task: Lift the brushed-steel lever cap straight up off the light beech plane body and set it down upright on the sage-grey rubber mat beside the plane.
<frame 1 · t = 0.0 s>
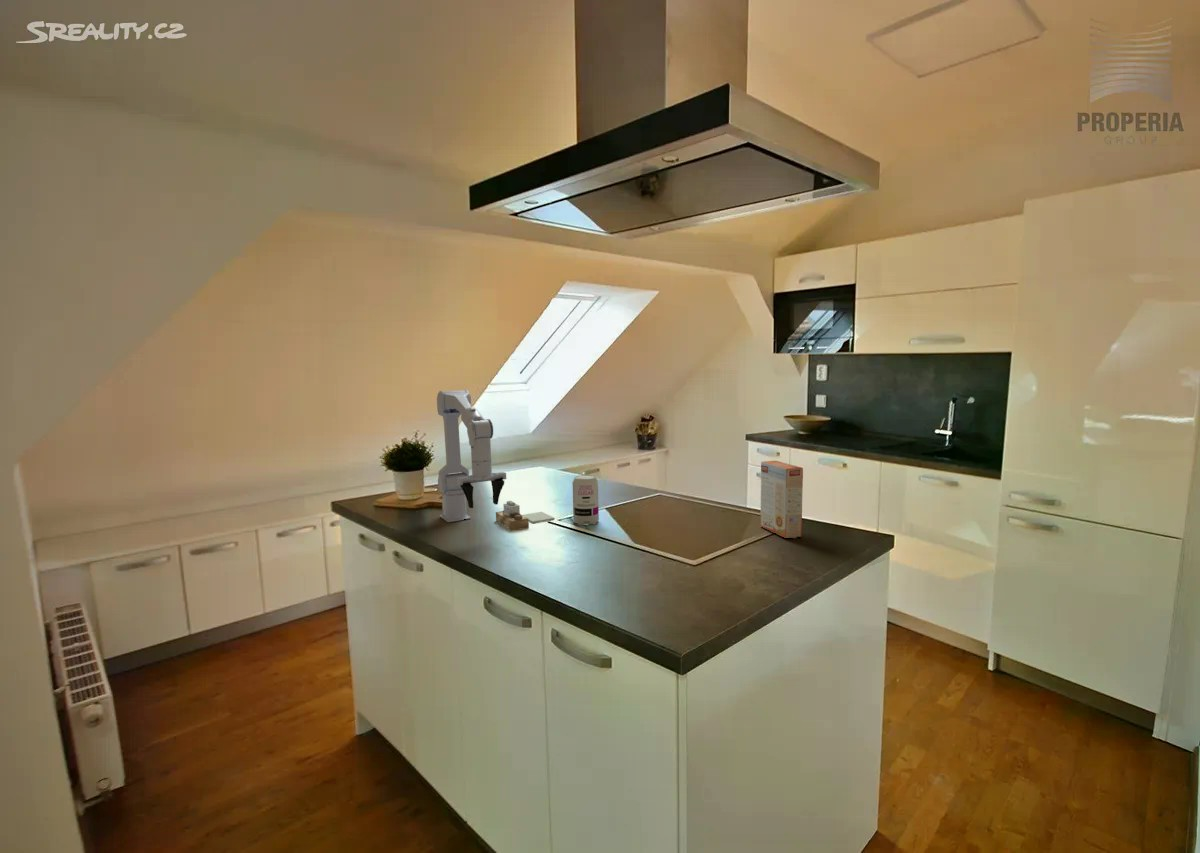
hand: (483, 505, 172), 10 cm above the worktop, tool pointing down, fingers open, 7 cm apart
cracker box: (780, 533, 173), on the worktop
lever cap: (511, 515, 188), point 3 cm above the worktop, touching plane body
rubber mat: (537, 518, 195), on the worktop
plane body: (512, 524, 188), on the worktop
supplement can: (586, 522, 189), on the worktop
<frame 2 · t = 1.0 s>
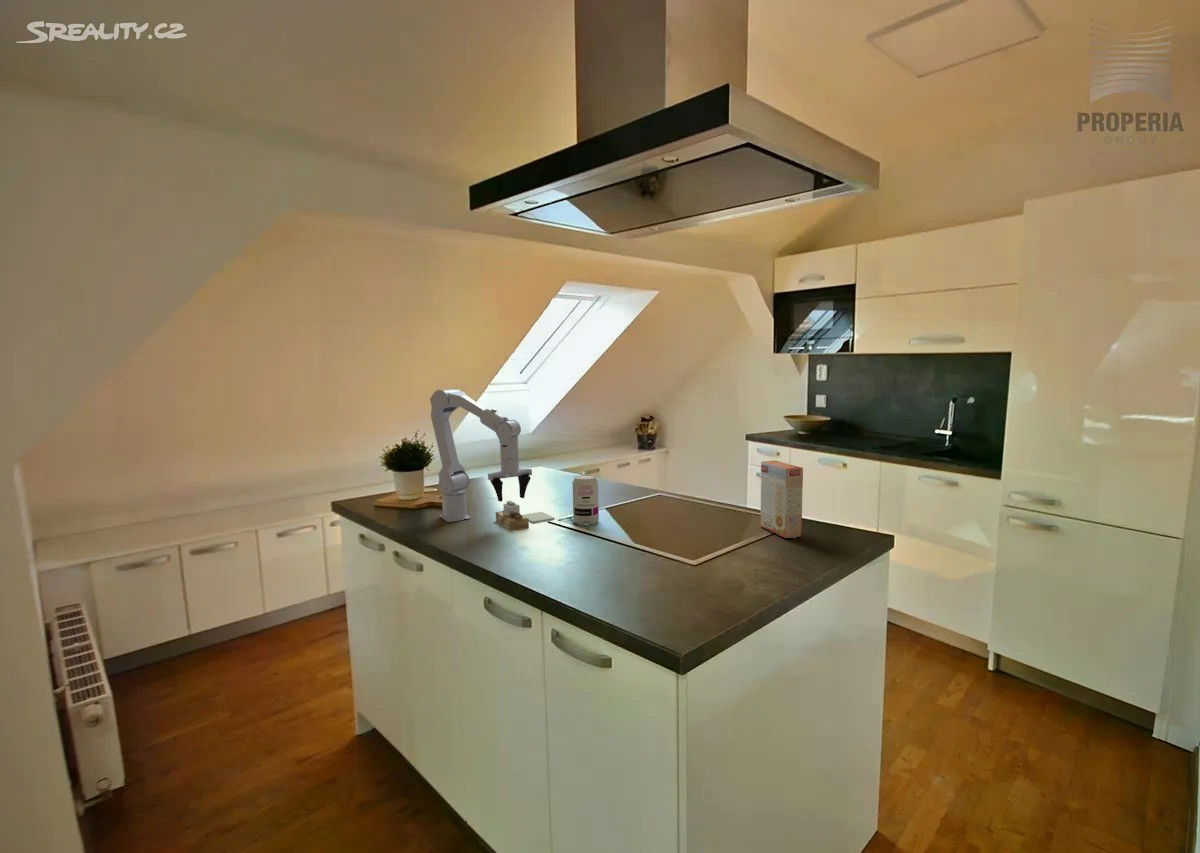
hand: (511, 499, 187), 8 cm above the worktop, tool pointing down, fingers open, 7 cm apart
nothing on the worktop moved.
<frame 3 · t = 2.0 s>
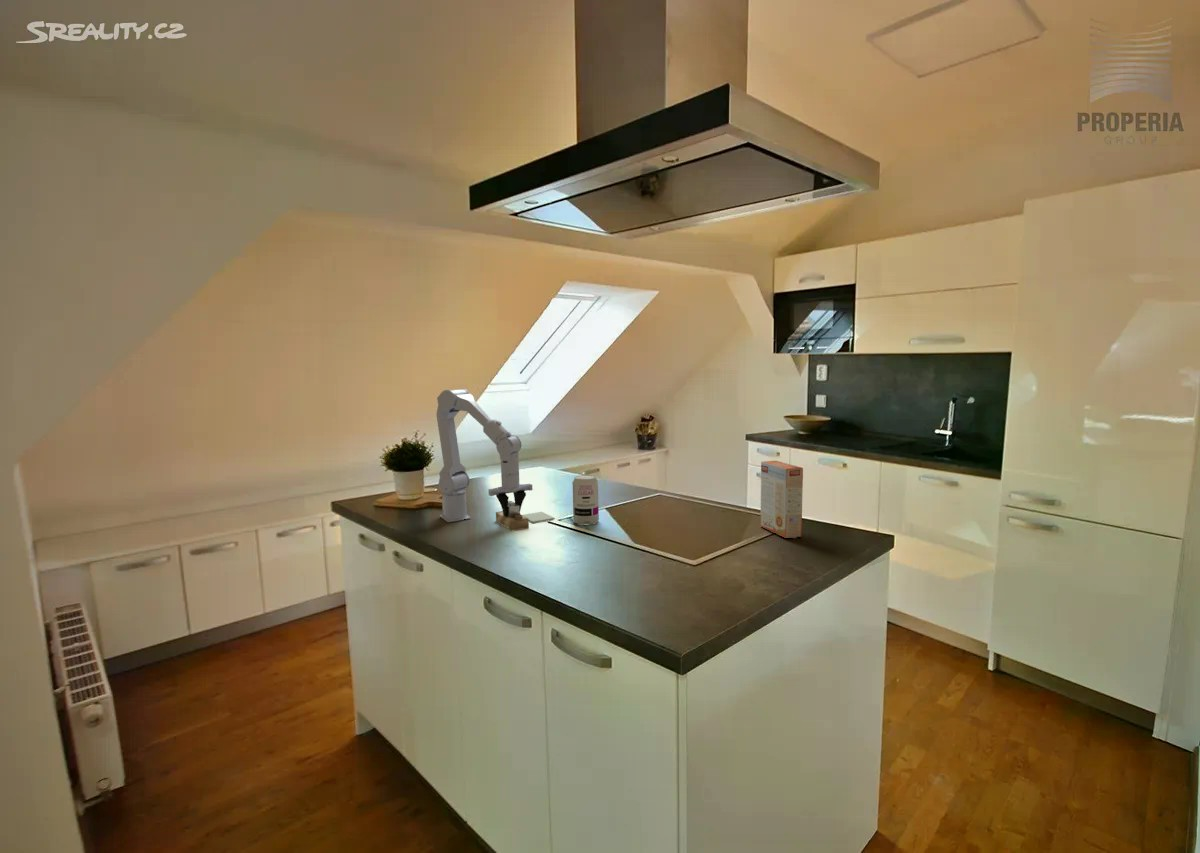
hand: (511, 514, 188), 3 cm above the worktop, tool pointing down, fingers closed on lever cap, 3 cm apart
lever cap: (511, 515, 188), point 3 cm above the worktop, touching gripper, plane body
everything else where it was.
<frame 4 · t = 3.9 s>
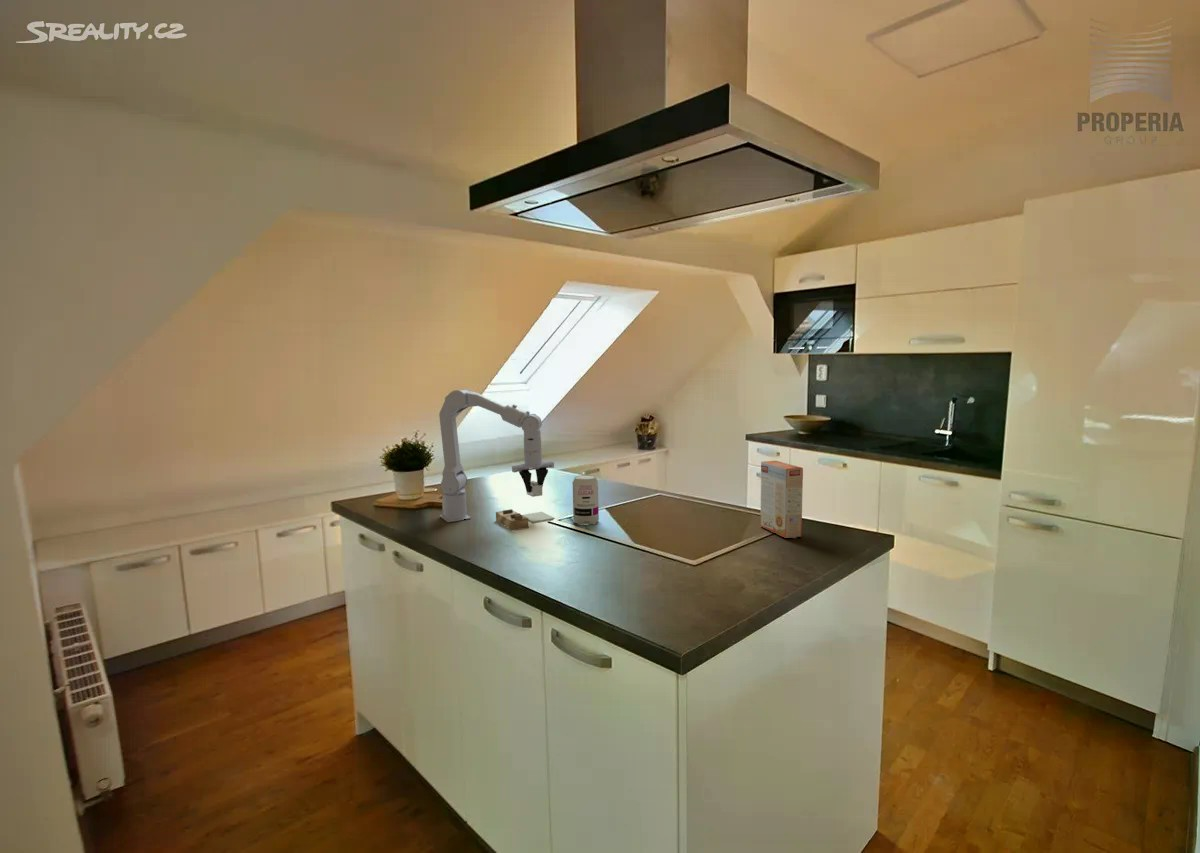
hand: (534, 491, 194), 9 cm above the worktop, tool pointing down, fingers closed on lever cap, 3 cm apart
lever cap: (534, 494, 194), point 8 cm above the worktop, touching gripper
everything else where it was.
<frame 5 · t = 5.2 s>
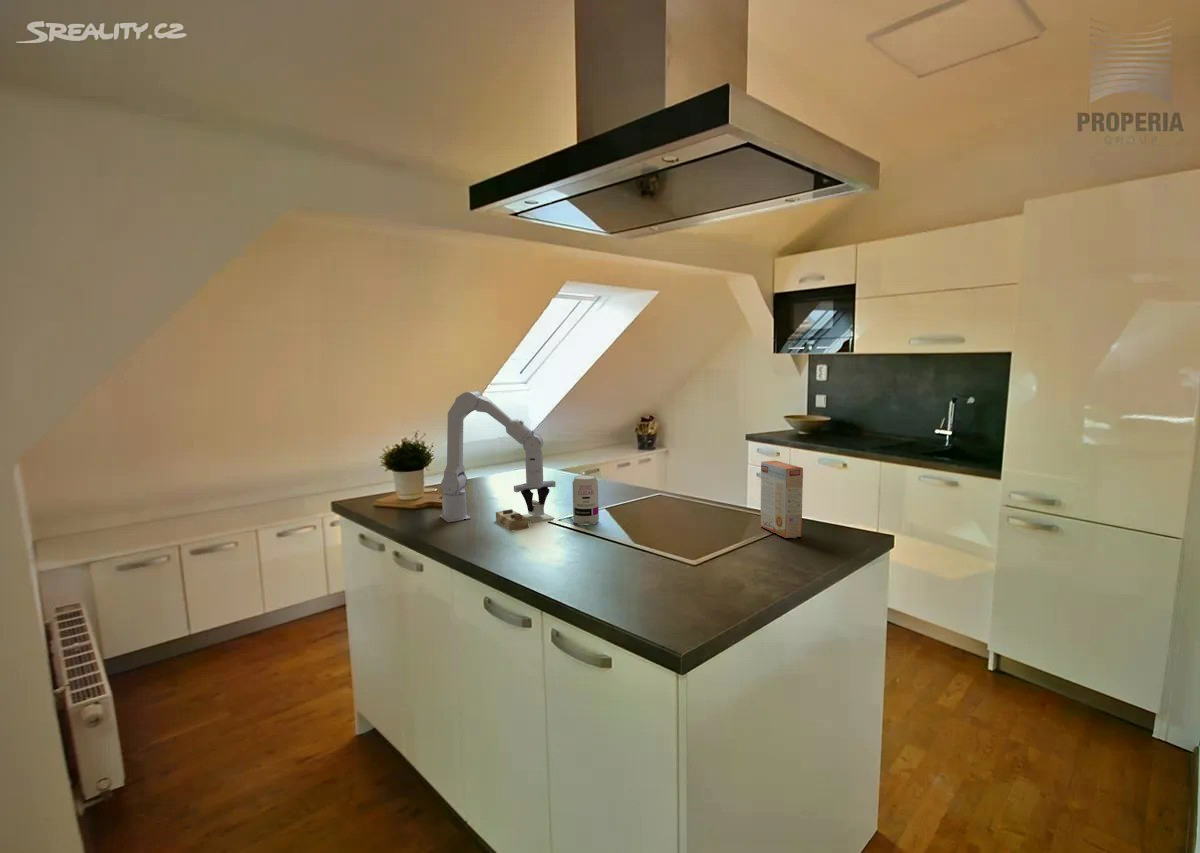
hand: (535, 510, 195), 3 cm above the worktop, tool pointing down, fingers closed on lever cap, 3 cm apart
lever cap: (536, 514, 195), point 2 cm above the worktop, touching gripper
everything else where it was.
when the fingers open (3 cm above the worktop, at t = 6.0 s): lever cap stays where it is, resting on rubber mat.
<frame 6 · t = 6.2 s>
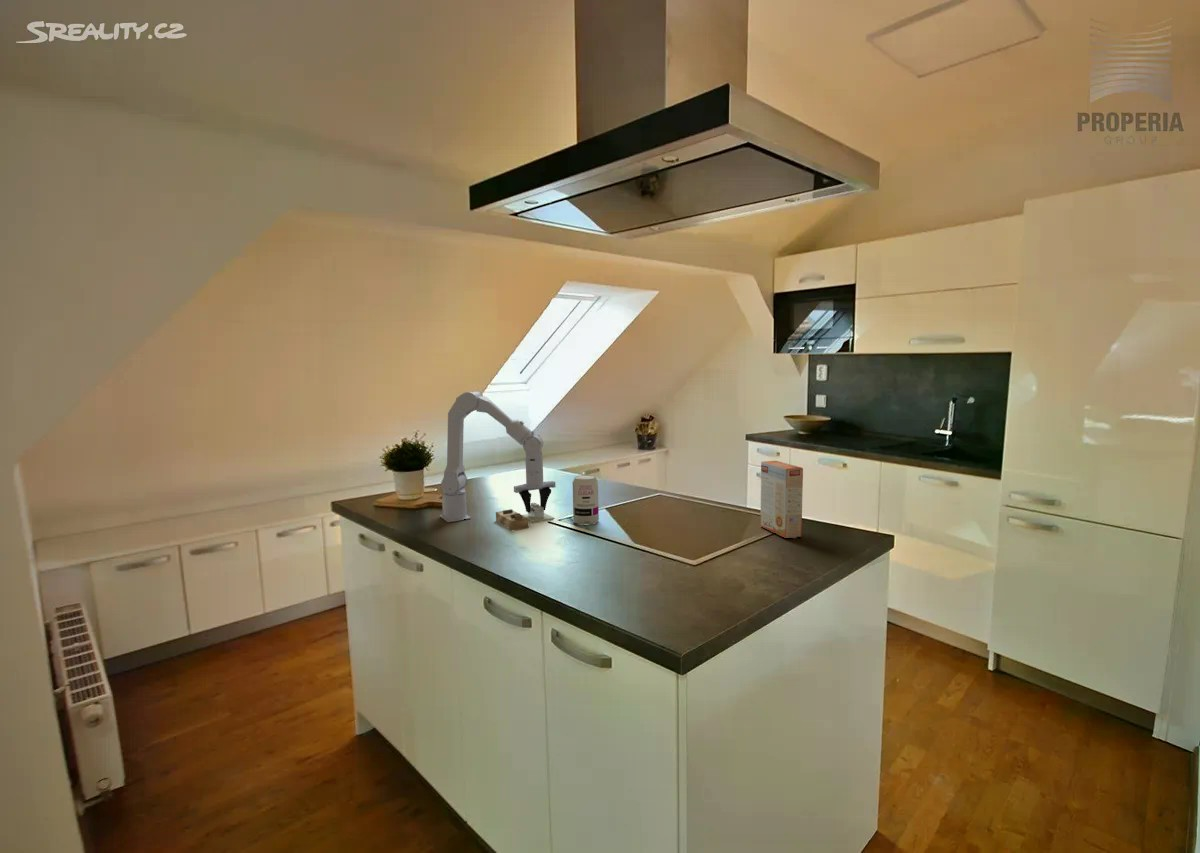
hand: (535, 510, 195), 3 cm above the worktop, tool pointing down, fingers open, 5 cm apart
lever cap: (536, 516, 195), point 1 cm above the worktop, touching rubber mat
everything else where it was.
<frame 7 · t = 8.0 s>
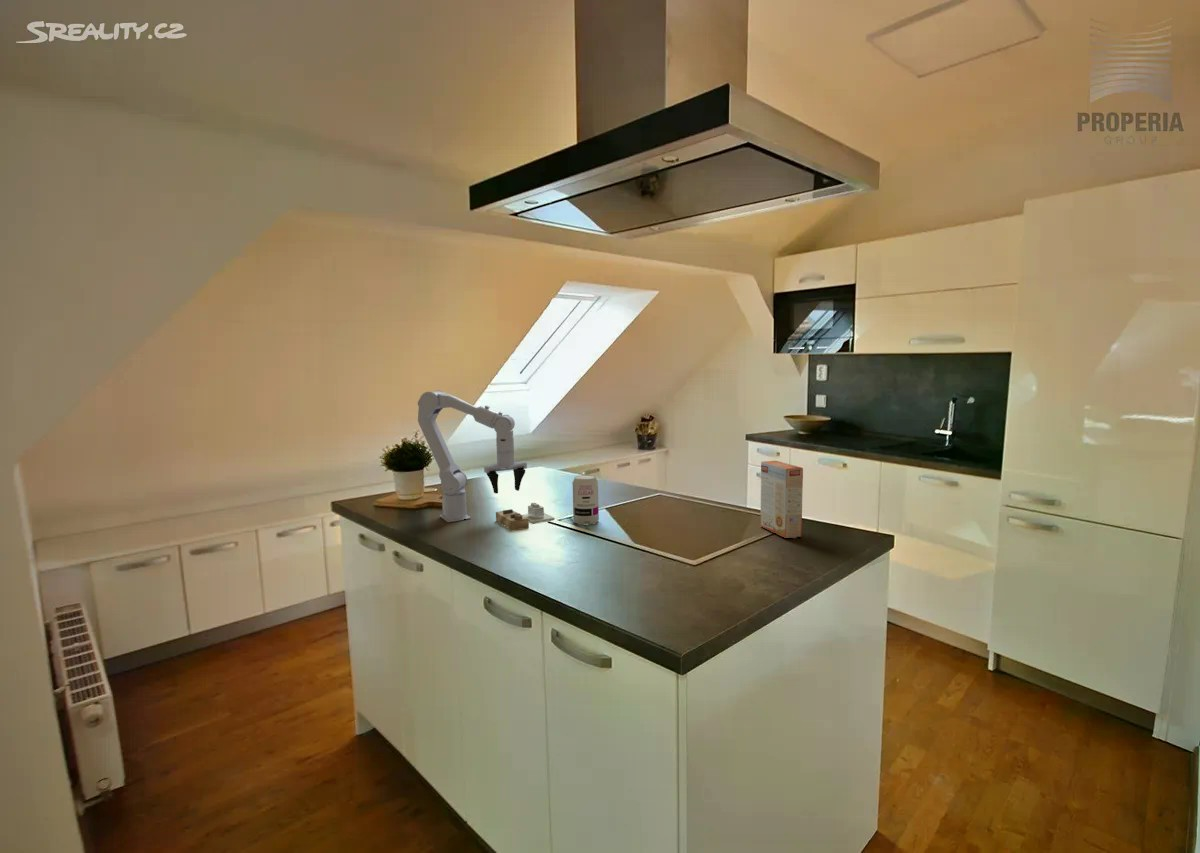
hand: (506, 491, 195), 9 cm above the worktop, tool pointing down, fingers open, 7 cm apart
nothing on the worktop moved.
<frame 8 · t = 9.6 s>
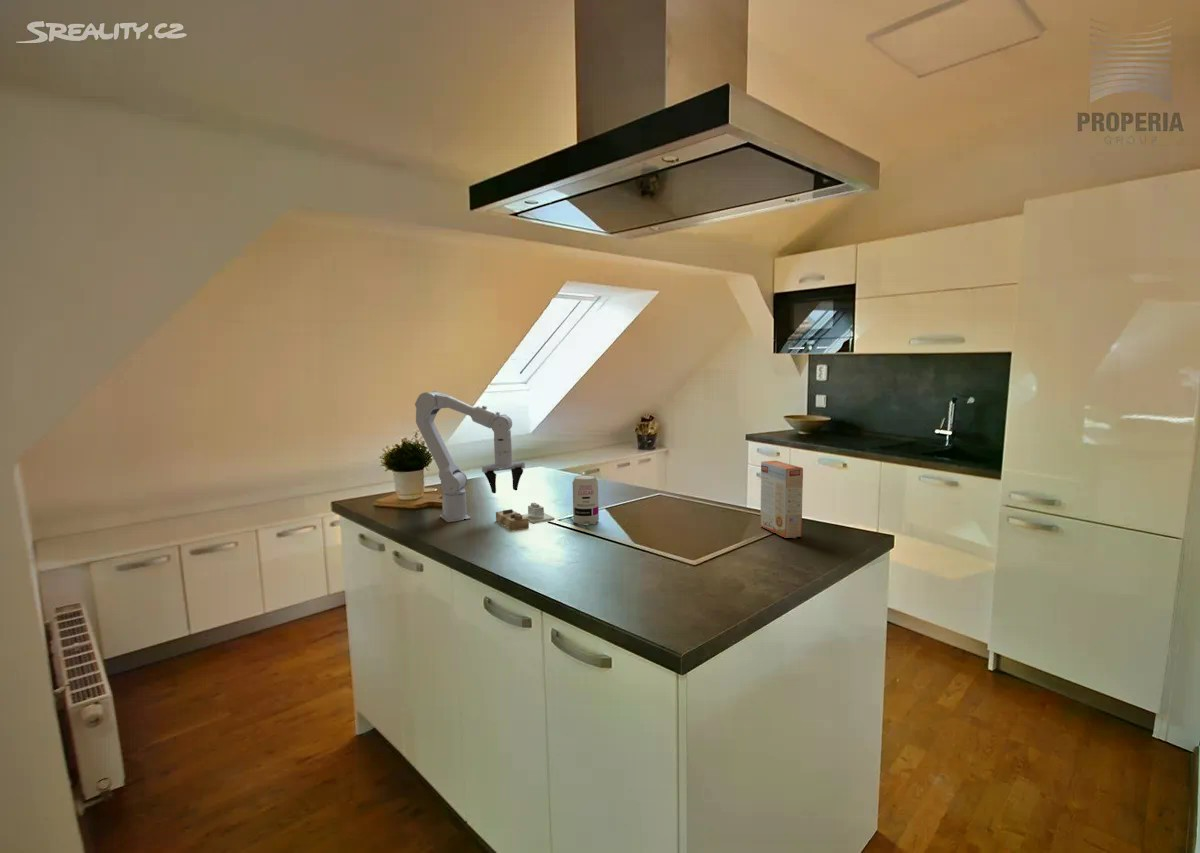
hand: (504, 491, 195), 9 cm above the worktop, tool pointing down, fingers open, 7 cm apart
nothing on the worktop moved.
at the end: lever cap inside the target area on the rubber mat (0.5 cm from its centre), point 0.6 cm above the rubber mat's base; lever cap tilted 0°; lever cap touching rubber mat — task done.
